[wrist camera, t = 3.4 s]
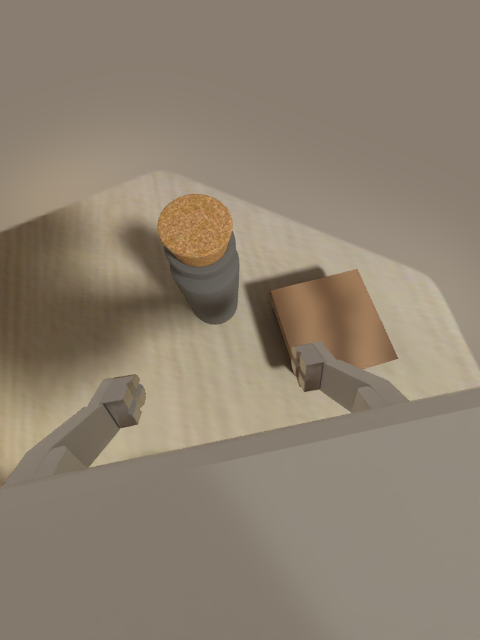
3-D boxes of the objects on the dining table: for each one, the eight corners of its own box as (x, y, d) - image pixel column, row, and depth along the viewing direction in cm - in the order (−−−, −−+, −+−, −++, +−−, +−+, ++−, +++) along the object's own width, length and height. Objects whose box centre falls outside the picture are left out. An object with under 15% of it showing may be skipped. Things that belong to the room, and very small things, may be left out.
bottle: (185, 296, 27) (131, 209, 13) (223, 276, 28) (212, 173, 14) (207, 333, 26) (174, 282, 12) (245, 310, 27) (259, 237, 13)
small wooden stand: (291, 385, 25) (302, 386, 21) (265, 302, 28) (270, 290, 24) (373, 360, 26) (398, 358, 22) (340, 283, 29) (357, 269, 25)
